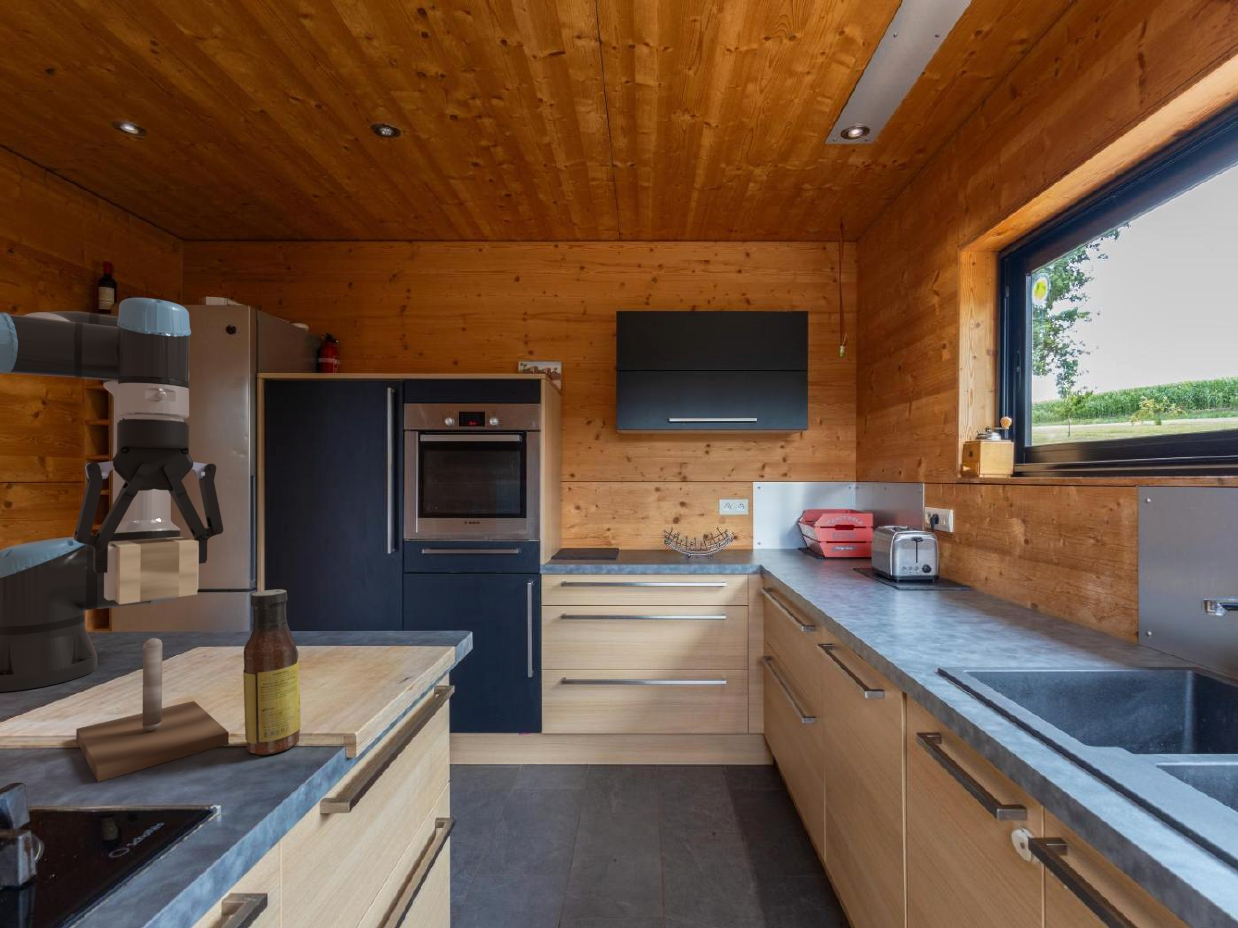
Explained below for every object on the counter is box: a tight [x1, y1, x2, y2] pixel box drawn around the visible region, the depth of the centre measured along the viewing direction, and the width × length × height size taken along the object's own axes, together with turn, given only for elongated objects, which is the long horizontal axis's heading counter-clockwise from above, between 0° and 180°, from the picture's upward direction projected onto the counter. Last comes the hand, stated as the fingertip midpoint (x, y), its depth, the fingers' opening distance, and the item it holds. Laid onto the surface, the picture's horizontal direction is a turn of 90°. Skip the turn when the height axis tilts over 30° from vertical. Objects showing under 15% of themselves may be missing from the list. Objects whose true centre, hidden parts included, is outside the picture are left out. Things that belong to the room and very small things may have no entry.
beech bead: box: [108, 536, 198, 604], centre depth 80 cm, size 8×8×7 cm
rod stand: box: [75, 637, 230, 783], centre depth 79 cm, size 16×13×14 cm
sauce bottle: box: [242, 588, 302, 756], centre depth 78 cm, size 7×6×20 cm
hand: (152, 593), depth 80 cm, fingers closed on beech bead, 8 cm apart
